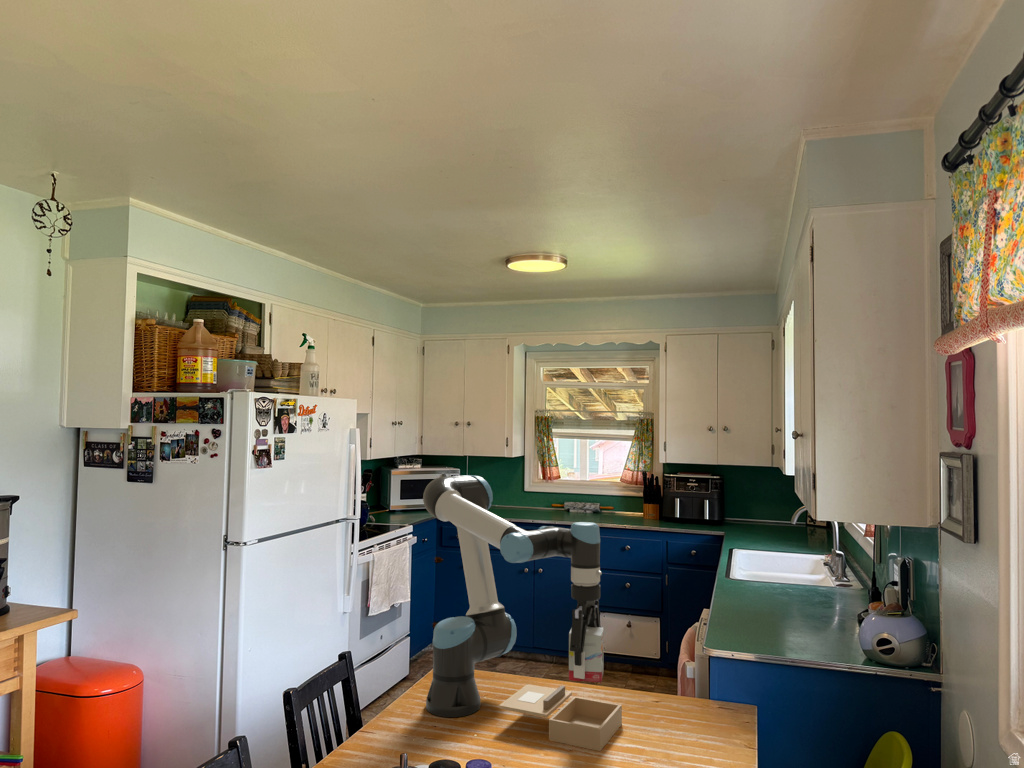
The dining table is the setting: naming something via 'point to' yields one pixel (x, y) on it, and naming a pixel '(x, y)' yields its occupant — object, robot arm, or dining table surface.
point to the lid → (536, 700)
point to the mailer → (585, 723)
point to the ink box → (590, 655)
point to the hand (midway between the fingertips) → (586, 671)
